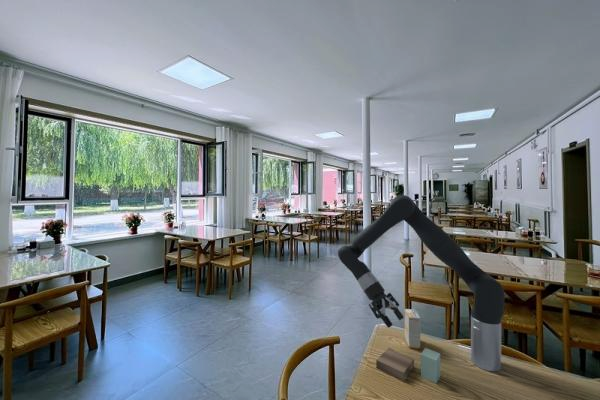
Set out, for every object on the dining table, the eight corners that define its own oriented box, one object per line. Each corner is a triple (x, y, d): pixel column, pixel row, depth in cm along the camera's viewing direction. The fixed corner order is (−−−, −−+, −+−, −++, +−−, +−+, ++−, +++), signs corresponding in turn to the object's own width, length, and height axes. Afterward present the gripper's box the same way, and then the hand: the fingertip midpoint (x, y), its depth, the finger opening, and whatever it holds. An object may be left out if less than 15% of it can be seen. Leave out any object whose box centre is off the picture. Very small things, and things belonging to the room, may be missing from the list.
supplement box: (421, 349, 105) (420, 318, 105) (408, 348, 106) (408, 317, 106) (416, 338, 113) (416, 309, 113) (404, 337, 114) (404, 308, 114)
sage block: (425, 369, 93) (425, 347, 93) (440, 375, 90) (440, 353, 90) (420, 376, 90) (420, 354, 90) (436, 383, 86) (436, 360, 86)
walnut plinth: (388, 355, 102) (388, 347, 102) (414, 366, 95) (414, 358, 95) (376, 367, 94) (376, 359, 94) (403, 381, 88) (403, 372, 87)
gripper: (366, 285, 101) (393, 324, 92) (385, 277, 110) (411, 312, 102) (355, 294, 105) (380, 333, 96) (374, 286, 114) (399, 320, 106)
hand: (396, 322), depth 99 cm, fingers open, 8 cm apart
